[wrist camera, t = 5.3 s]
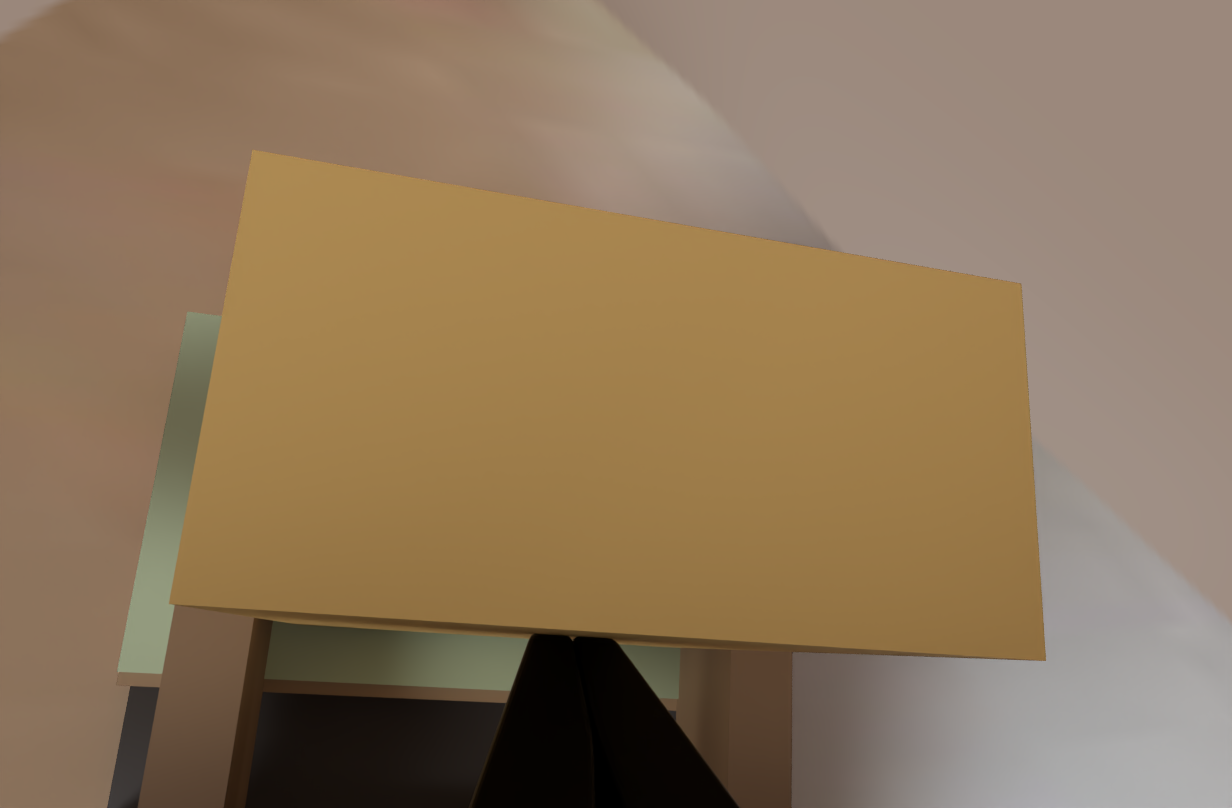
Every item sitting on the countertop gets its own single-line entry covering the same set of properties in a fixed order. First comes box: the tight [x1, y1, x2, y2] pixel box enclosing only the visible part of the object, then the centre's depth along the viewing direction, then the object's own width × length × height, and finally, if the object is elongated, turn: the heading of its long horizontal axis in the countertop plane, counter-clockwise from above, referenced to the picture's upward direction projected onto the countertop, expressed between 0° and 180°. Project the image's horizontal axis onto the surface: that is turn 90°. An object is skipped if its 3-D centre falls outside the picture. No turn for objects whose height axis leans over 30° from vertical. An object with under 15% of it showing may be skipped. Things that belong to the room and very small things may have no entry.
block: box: [169, 150, 1046, 661], centre depth 11 cm, size 3×6×9 cm, turn 86°
